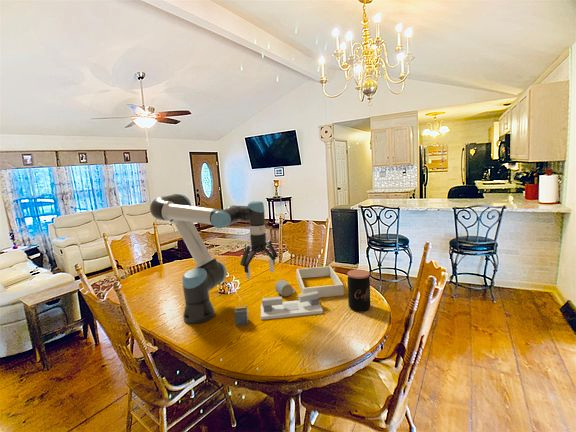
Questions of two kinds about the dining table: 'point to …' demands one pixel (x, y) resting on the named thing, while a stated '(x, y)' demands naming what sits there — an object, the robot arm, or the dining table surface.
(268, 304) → the white base plate
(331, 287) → the tray
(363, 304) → the coffee jar
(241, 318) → the dark grey block
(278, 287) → the ceramic mug
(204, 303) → the robot arm
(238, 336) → the dining table surface
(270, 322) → the dining table surface
